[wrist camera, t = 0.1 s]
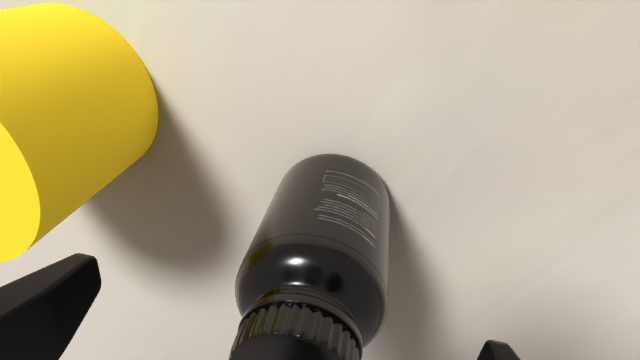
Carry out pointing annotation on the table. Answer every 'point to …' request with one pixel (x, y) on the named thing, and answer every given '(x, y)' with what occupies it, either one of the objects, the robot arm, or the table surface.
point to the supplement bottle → (316, 265)
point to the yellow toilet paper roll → (64, 116)
